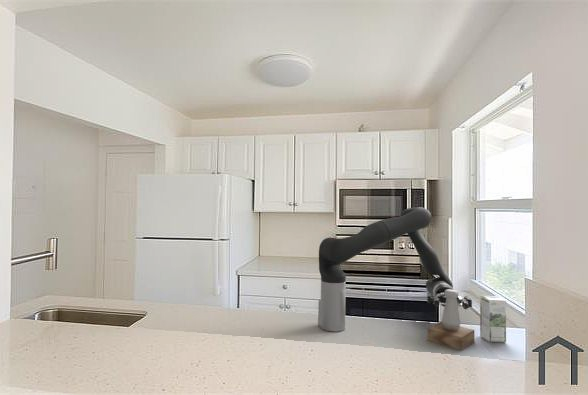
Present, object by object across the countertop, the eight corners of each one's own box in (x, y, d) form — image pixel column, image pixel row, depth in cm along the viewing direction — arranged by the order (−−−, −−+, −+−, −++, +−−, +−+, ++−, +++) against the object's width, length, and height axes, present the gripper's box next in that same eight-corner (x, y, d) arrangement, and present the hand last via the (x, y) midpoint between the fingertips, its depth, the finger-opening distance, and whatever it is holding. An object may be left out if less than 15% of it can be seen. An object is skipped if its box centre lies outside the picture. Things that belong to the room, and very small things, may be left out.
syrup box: (496, 336, 114) (495, 295, 114) (506, 343, 108) (506, 299, 108) (480, 336, 114) (479, 294, 115) (489, 342, 108) (489, 299, 109)
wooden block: (427, 340, 109) (427, 328, 109) (441, 332, 116) (441, 321, 117) (462, 350, 101) (461, 337, 101) (474, 341, 108) (474, 329, 108)
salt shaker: (462, 332, 105) (463, 292, 106) (444, 330, 107) (444, 291, 107) (457, 326, 111) (457, 289, 112) (439, 324, 112) (440, 287, 113)
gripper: (424, 282, 125) (428, 291, 110) (465, 286, 121) (475, 295, 106) (424, 302, 125) (429, 313, 109) (465, 306, 121) (475, 318, 105)
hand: (451, 305), depth 107 cm, fingers open, 8 cm apart
